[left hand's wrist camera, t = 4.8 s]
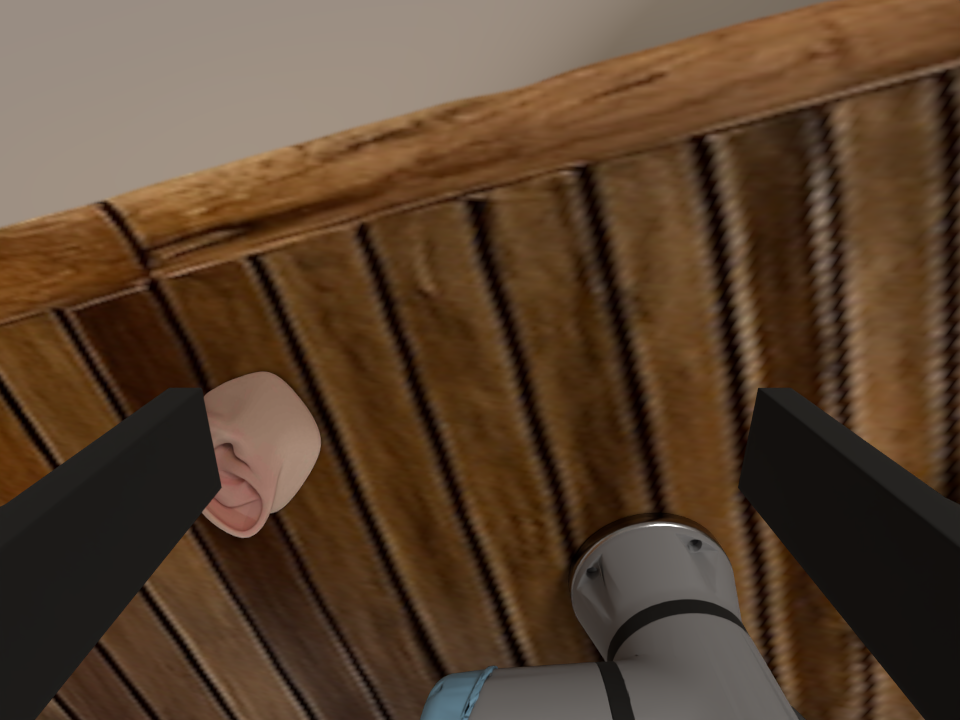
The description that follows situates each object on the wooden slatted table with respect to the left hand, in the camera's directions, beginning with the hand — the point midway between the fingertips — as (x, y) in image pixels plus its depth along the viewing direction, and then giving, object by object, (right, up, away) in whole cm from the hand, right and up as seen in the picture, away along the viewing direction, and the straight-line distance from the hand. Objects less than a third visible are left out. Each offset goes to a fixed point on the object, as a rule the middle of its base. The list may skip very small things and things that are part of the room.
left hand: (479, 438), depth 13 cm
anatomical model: (-20, -5, +33) cm, 39 cm away
